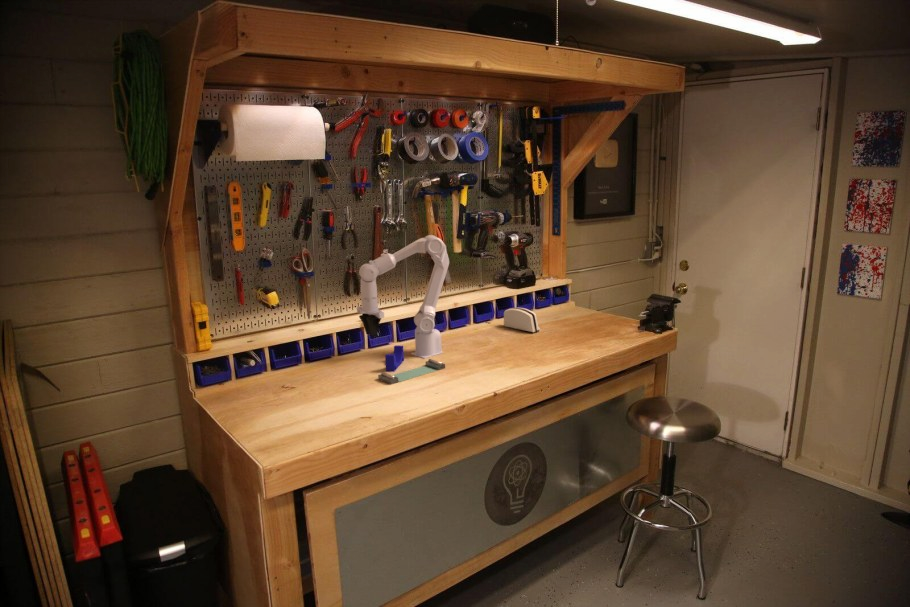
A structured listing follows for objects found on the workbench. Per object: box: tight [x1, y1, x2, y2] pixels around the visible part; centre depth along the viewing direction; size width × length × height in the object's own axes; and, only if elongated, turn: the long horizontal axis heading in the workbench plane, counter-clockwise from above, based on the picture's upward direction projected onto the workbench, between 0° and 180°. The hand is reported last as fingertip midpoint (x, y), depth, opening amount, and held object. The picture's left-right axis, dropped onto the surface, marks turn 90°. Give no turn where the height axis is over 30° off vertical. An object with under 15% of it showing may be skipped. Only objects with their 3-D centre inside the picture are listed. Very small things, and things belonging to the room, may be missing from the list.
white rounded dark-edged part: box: [503, 307, 541, 333], centre depth 257 cm, size 17×5×10 cm, turn 43°
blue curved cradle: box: [384, 344, 405, 373], centre depth 214 cm, size 12×4×6 cm, turn 169°
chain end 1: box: [377, 371, 399, 385], centre depth 199 cm, size 3×7×2 cm, turn 42°
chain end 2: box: [424, 358, 446, 371], centre depth 212 cm, size 3×7×2 cm, turn 42°
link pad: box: [391, 365, 438, 383], centre depth 206 cm, size 16×7×1 cm, turn 132°
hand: (371, 334), depth 221 cm, fingers closed
